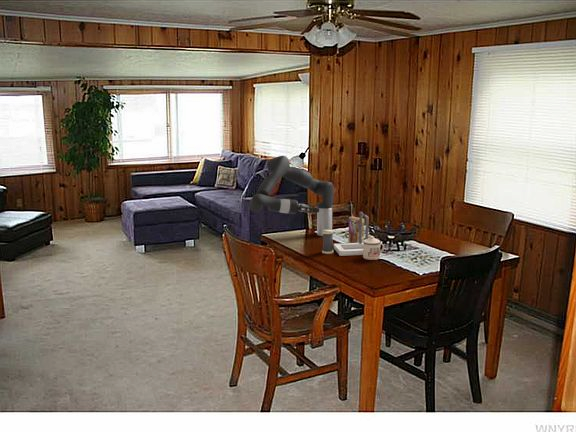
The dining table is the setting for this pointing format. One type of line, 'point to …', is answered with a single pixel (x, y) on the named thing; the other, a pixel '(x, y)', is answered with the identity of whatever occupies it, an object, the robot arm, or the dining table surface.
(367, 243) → the teacup with lid
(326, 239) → the cord spool
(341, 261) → the dining table surface
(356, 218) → the candy box
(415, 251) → the dining table surface
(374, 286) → the dining table surface
